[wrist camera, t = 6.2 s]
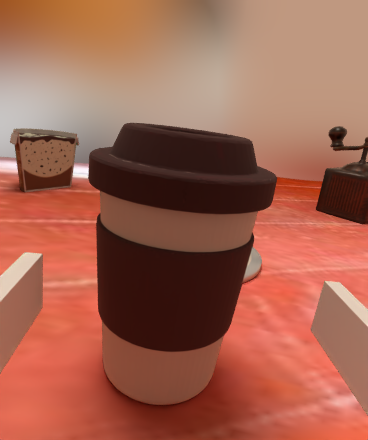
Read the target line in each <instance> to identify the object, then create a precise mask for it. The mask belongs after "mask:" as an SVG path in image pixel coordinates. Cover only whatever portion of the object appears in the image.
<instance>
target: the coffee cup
mask: <svg viewBox="0 0 368 440" xmlns="http://www.w3.org/2000/svg"><path fill="white" fill-rule="evenodd" d="M88 179H89V182H90V183H91V185H92V186H94V187H95V188H96V189H98V190H100V214H99V215H98V217H97V223H96V230H97V278H98V310H99V314H100V317H101V319H102V348H103V366H104V370H105V372H106V375H107V377H108V378H109V380H110V381H111V383H112V384H113V385H114V386H115V387H116V388H117V389H118V390H119V391H121V392H122V393H123V394H125V395H127V396H128V397H130V398H132V399H134V400H137V401H140V402H144V403H147V404H154V405H168V404H176V403H180V402H183V401H186V400H188V399H190V398H193V397H194V396H196V395H197V394H199V393H200V392H201V391H202V390H203V389H204V388H205V387H206V386H207V385H208V383H209V381H210V380H211V378H212V376H213V373H214V369H215V366H216V362H217V358H218V355H219V351H220V347H221V344H222V340H223V336H224V334H225V333H226V332H227V331H228V329H229V326H230V324H231V321H232V318H233V314H234V311H235V307H236V304H237V300H238V297H239V293H240V290H241V286H242V282H243V279H244V275H245V272H246V268H247V265H248V261H249V258H250V254H251V251H252V247H253V242H254V235H253V233H252V231H253V227H254V224H255V220H256V216H257V213H258V211H260V210H264V209H266V208H268V207H269V206H270V205H271V203H272V201H273V196H274V191H275V187H276V182H277V177H276V176H275V174H274V173H272V172H270V171H268V170H266V169H263V168H261V167H258V166H257V163H256V158H255V153H254V148H253V144H252V141H250V140H249V139H246V138H242V137H238V136H233V135H227V134H221V133H215V132H208V131H202V130H194V129H187V128H180V127H172V126H164V125H154V124H144V123H127V124H124V126H123V127H122V129H121V131H120V133H119V135H118V137H117V139H116V141H115V143H114V145H113V147H107V148H99V149H95V150H94V151H92V152H91V153H90V156H89V177H88Z"/></svg>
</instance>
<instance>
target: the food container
mask: <svg viewBox="0 0 368 440" xmlns="http://www.w3.org/2000/svg"><path fill="white" fill-rule="evenodd" d="M10 143H12V144H15V151H16V159H17V167H18V175H19V183H20V189H21V190H22V191H23V192H32V191H41V190H50V189H58V188H67V187H71V184H72V176H73V167H74V158H75V149H76V145H79V142H78V138H77V134H74V133H68V132H60V131H53V130H42V129H14V130H13V133H12V135H11V140H10Z"/></svg>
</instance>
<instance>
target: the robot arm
mask: <svg viewBox="0 0 368 440" xmlns="http://www.w3.org/2000/svg"><path fill="white" fill-rule="evenodd" d="M42 302H43V254H38V253H27V252H25V253H24V254H22V255H21V256H20V257H19V258H18V259H17V260H16V261H15V262H14V263H13V264H12V265H11V266H10V267H9V268H8V269H7V270H6V271H5V272H4V273H3V274H2V275H1V276H0V373H1V372H2V370H3V369H4V367H5V366H6V364H7V363H8V361H9V359H10V358H11V356H12V355H13V353H14V352H15V350H16V348H17V347H18V345H19V344H20V342H21V341H22V339H23V337H24V336H25V334H26V333H27V331H28V330H29V328H30V327H31V325H32V323H33V322H34V320H35V319H36V317H37V316H38V314H39V312H40V311H41V309H42ZM311 331H312V333H313V334H314V336H315V337H316V339H317V340H318V342H319V343H320V345H321V346H322V348H323V349H324V351H325V352H326V354H327V355H328V357H329V358H330V360H331V361H332V363H333V364H334V366H335V367H336V369H337V370H338V372H339V373H340V375H341V376H342V378H343V379H344V381H345V382H346V384H347V385H348V387H349V388H350V390H351V391H352V393H353V394H354V396H355V397H356V399H357V400H358V402H359V403H360V405H361V406H362V408H363V409H364V411H365V412H366V414H367V415H368V309H366V308H365V307H364V306H363V305H362V304H361V303H360V302H359V301H358V300H357V299H356V298H355V297H354V296H353V295H352V294H351V293H350V292H349V291H348V290H347V289H346V288H345V287H344V286H343V285H342V284H341V283H340V282H330V281H324V285H323V288H322V292H321V295H320V299H319V302H318V306H317V309H316V313H315V316H314V320H313V323H312V327H311Z"/></svg>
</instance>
